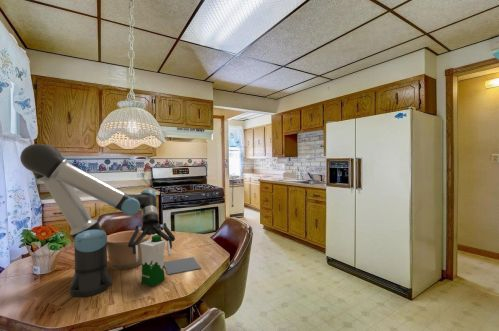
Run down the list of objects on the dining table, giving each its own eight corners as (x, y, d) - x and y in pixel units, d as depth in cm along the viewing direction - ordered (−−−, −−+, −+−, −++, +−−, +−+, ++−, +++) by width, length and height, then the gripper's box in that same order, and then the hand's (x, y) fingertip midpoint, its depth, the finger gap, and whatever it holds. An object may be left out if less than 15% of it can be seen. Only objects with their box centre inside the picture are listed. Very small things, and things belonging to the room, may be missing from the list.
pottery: (116, 276, 119) (116, 245, 119) (96, 264, 132) (96, 236, 132) (157, 261, 136) (157, 235, 136) (136, 252, 149) (136, 228, 149)
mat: (167, 275, 120) (167, 274, 120) (163, 263, 134) (163, 262, 134) (200, 268, 127) (200, 267, 127) (193, 257, 141) (193, 257, 141)
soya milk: (167, 279, 115) (167, 236, 115) (151, 288, 107) (151, 241, 107) (154, 275, 119) (153, 233, 119) (137, 284, 111) (137, 238, 111)
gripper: (174, 218, 134) (181, 256, 121) (122, 224, 122) (122, 266, 109) (176, 210, 129) (183, 249, 116) (122, 215, 118) (122, 258, 104)
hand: (153, 257), depth 112 cm, fingers open, 13 cm apart
